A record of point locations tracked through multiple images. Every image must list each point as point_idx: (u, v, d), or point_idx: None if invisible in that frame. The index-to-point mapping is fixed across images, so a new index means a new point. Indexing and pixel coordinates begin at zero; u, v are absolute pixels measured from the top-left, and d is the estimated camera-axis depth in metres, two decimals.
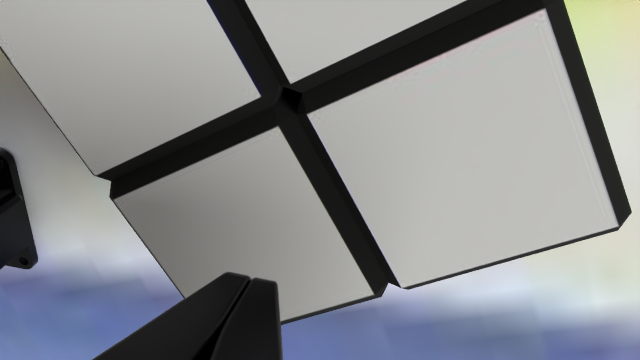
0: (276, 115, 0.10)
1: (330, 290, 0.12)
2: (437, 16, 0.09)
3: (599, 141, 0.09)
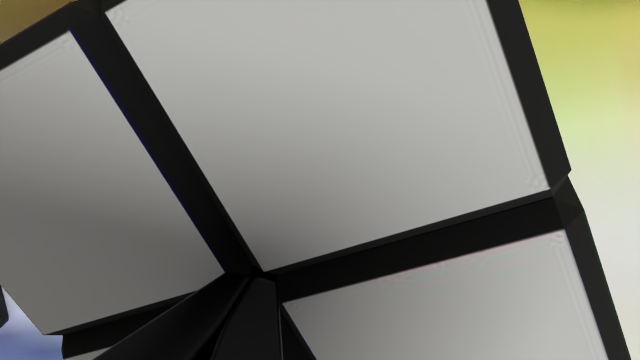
0: None
1: None
2: (436, 221, 0.07)
3: (619, 359, 0.08)
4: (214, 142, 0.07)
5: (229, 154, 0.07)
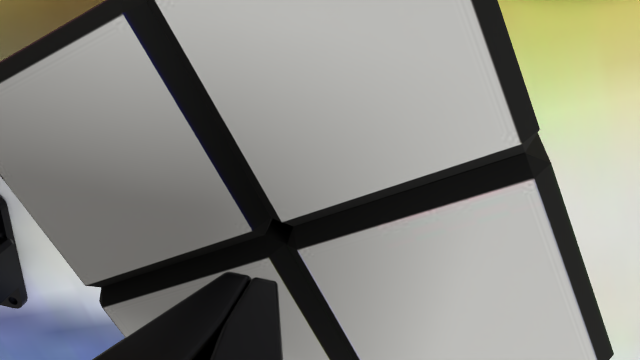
0: (267, 246, 0.10)
1: None
2: (428, 175, 0.09)
3: (584, 294, 0.09)
4: (242, 108, 0.09)
5: (254, 118, 0.09)
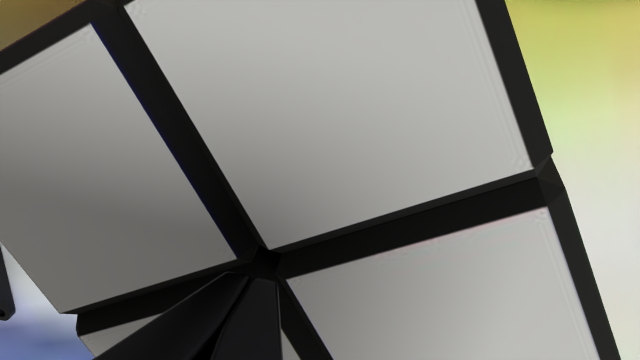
0: (254, 274, 0.09)
1: None
2: (429, 201, 0.08)
3: (600, 330, 0.09)
4: (224, 127, 0.08)
5: (237, 138, 0.08)
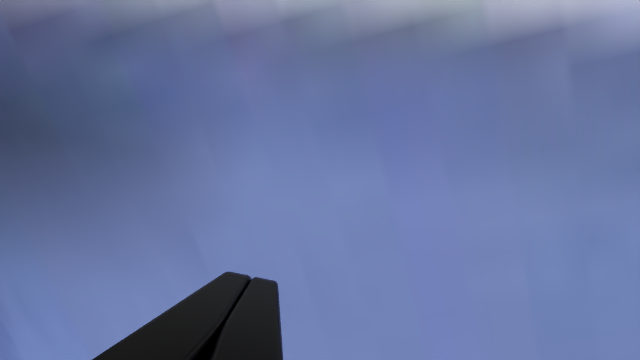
0: None
1: None
2: None
3: None
4: None
5: None
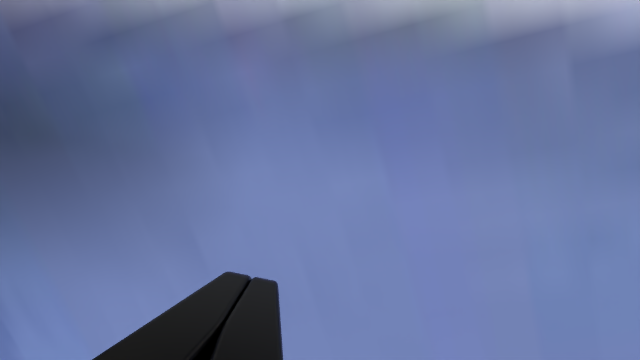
0: None
1: None
2: None
3: None
4: None
5: None
